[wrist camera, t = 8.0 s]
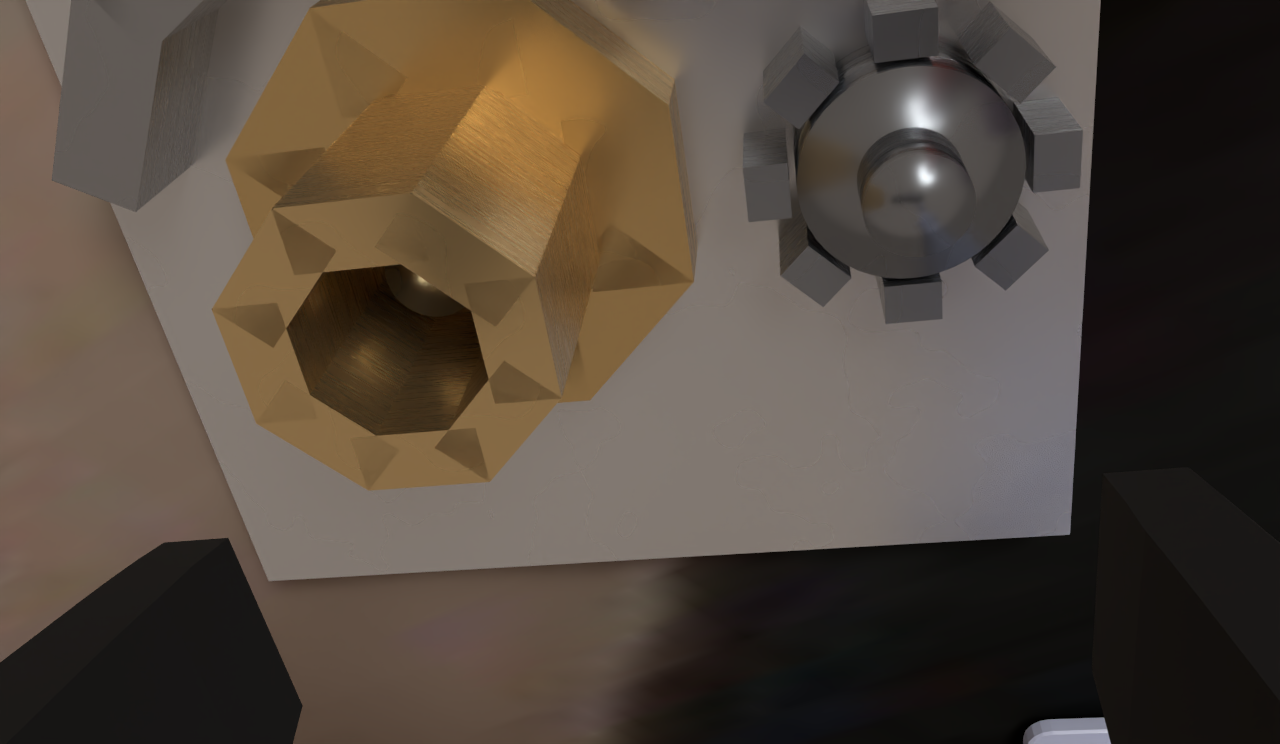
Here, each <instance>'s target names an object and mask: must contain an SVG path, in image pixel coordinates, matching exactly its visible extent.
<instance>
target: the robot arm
mask: <svg viewBox="0 0 1280 744" xmlns="http://www.w3.org/2000/svg"><path fill="white" fill-rule="evenodd" d="M1092 671H1093V675H1094V679H1095V683H1096V687H1097V691H1098V695H1099V699H1100V703H1101V707H1102V711H1103V715H1104V717H1101V718H1071V719H1047V720H1041V721H1038V722H1036V723H1034V724H1032V725H1031V726H1030V727H1029V728H1028V729H1027V730H1026V731H1025V733H1024V736H1023V744H1280V543H1279V542H1278V541H1277V540H1275V539H1274V538H1273V537H1272V536H1271V535H1269V534H1268V533H1267V532H1266V531H1265V530H1263V529H1262V528H1261V527H1260V526H1259V525H1257V524H1256V523H1255V522H1254V521H1253V520H1252V519H1250V518H1249V517H1248V516H1247V515H1246V514H1244V513H1243V512H1242V511H1241V510H1240V509H1238V508H1237V507H1236V506H1235V505H1234V504H1232V503H1231V502H1230V501H1229V500H1228V499H1226V498H1225V497H1224V496H1223V495H1222V494H1220V493H1219V492H1218V491H1217V490H1215V489H1214V488H1213V487H1212V486H1211V485H1209V484H1208V483H1207V482H1206V481H1205V480H1203V479H1202V478H1201V477H1200V476H1199V475H1197V474H1196V473H1195V472H1194V471H1192V470H1191V469H1190V468H1189V467H1183V468H1170V469H1156V470H1143V471H1129V472H1115V473H1103V479H1102V497H1101V515H1100V532H1099V550H1098V568H1097V586H1096V604H1095V621H1094V639H1093V657H1092ZM301 709H302V704H301V701H300V699H299V697H298V695H297V692H296V690H295V688H294V686H293V683H292V681H291V679H290V677H289V674H288V672H287V670H286V667H285V665H284V663H283V661H282V658H281V656H280V654H279V652H278V649H277V647H276V645H275V643H274V640H273V638H272V636H271V634H270V631H269V629H268V627H267V625H266V622H265V620H264V618H263V616H262V613H261V611H260V609H259V607H258V604H257V602H256V600H255V597H254V595H253V593H252V591H251V588H250V586H249V584H248V582H247V579H246V577H245V575H244V573H243V570H242V568H241V566H240V564H239V561H238V559H237V557H236V555H235V552H234V550H233V548H232V546H231V543H230V541H229V539H228V538H222V539H208V540H194V541H181V542H167V543H163V544H161V545H160V546H158V547H157V548H155V549H154V550H152V551H151V552H149V553H147V554H146V555H144V556H143V557H141V558H140V559H138V560H137V561H135V562H134V563H132V564H131V565H130V566H128V567H127V568H125V569H124V570H122V571H121V572H120V573H118V574H117V575H116V576H114V577H113V578H111V579H110V580H109V581H107V582H106V583H104V584H103V585H102V586H100V587H99V588H98V589H96V590H95V591H94V592H92V593H91V594H90V595H88V596H87V597H86V598H84V599H83V600H82V601H80V602H79V603H78V604H76V605H75V606H74V607H72V608H71V609H70V610H68V611H67V612H66V613H65V614H63V615H62V616H61V617H59V618H58V619H57V620H55V621H54V622H53V623H51V624H50V625H49V626H47V627H46V628H45V629H44V630H42V631H41V632H40V633H38V634H37V635H36V636H34V637H33V638H32V639H31V640H29V641H28V642H27V643H25V644H24V645H23V646H21V647H20V648H19V649H17V650H16V651H15V652H14V653H12V654H11V655H10V656H8V657H7V658H6V659H4V660H3V661H2V662H0V744H293V740H294V736H295V732H296V729H297V725H298V721H299V717H300V713H301Z"/></svg>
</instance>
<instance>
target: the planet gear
mask: <svg viewBox="0 0 1280 744" xmlns="http://www.w3.org/2000/svg"><path fill="white" fill-rule="evenodd" d="M225 161H226V163H227V166H228V169H229V172H230V175H231V177H232V180H233V183H234V186H235V189H236V191H237V194H238V197H239V200H240V203H241V205H242V208H243V211H244V214H245V217H246V219H247V222H248V225H249V228H250V231H251V233H252V236H253V241H252V243H251V244H250V246H249V248H248V249H247V251H246V253H245V254H244V256H243V258H242V259H241V261H240V263H239V264H238V266H237V268H236V269H235V271H234V273H233V274H232V276H231V278H230V279H229V281H228V283H227V284H226V286H225V288H224V289H223V291H222V293H221V294H220V296H219V298H218V300H217V301H216V303H215V305H214V306H213V308H212V312H213V314H214V317H215V320H216V322H217V325H218V327H219V330H220V332H221V335H222V337H223V340H224V343H225V345H226V348H227V350H228V353H229V355H230V358H231V360H232V363H233V366H234V368H235V371H236V373H237V376H238V378H239V381H240V383H241V386H242V388H243V391H244V394H245V396H246V399H247V401H248V404H249V406H250V409H251V411H252V414H253V417H254V419H255V422H256V424H258V425H259V426H261V427H263V428H265V429H266V430H268V431H270V432H271V433H273V434H275V435H276V436H278V437H280V438H281V439H283V440H285V441H286V442H288V443H290V444H291V445H293V446H295V447H296V448H298V449H300V450H301V451H303V452H305V453H306V454H308V455H310V456H311V457H313V458H315V459H316V460H318V461H320V462H321V463H323V464H325V465H326V466H328V467H330V468H331V469H333V470H335V471H336V472H338V473H340V474H341V475H343V476H345V477H346V478H348V479H350V480H351V481H353V482H355V483H356V484H358V485H360V486H361V487H363V488H365V489H366V490H368V491H371V490H385V489H399V488H413V487H427V486H441V485H455V484H468V483H482V482H490V481H491V480H492V479H493V478H494V477H495V475H496V474H497V473H498V472H499V471H500V470H501V468H502V467H503V466H504V465H505V464H506V463H507V461H508V460H509V459H510V458H511V457H512V456H513V454H514V453H515V452H516V451H517V450H518V449H519V447H520V446H521V445H522V444H523V443H524V442H525V440H526V439H527V438H528V437H529V436H530V435H531V433H532V432H533V431H534V430H535V429H536V427H537V426H538V425H539V424H540V423H541V422H542V420H543V419H544V418H545V417H546V416H547V415H548V413H549V412H550V411H551V410H552V409H553V408H554V406H555V405H556V404H557V403H564V402H576V401H588V400H591V399H592V398H593V397H594V395H595V394H596V393H597V392H598V391H599V390H600V389H601V387H602V386H603V385H604V384H605V383H606V382H607V381H608V379H609V378H610V377H611V376H612V375H613V374H614V373H615V371H616V370H617V369H618V368H619V367H620V366H621V365H622V363H623V362H624V361H625V360H626V359H627V358H628V357H629V355H630V354H631V353H632V352H633V351H634V350H635V349H636V347H637V346H638V345H639V344H640V343H641V342H642V341H643V339H644V338H645V337H646V336H647V335H648V334H649V333H650V331H651V330H652V329H653V328H654V327H655V326H656V325H657V323H658V322H659V321H660V320H661V319H662V318H663V317H664V315H665V314H666V313H667V312H668V311H669V310H670V309H671V307H672V306H673V305H674V304H675V303H676V302H677V301H678V299H679V298H680V297H681V296H682V295H683V294H684V293H685V291H686V290H687V289H688V288H689V287H690V286H691V285H692V283H693V282H694V277H695V268H696V258H697V249H698V247H697V240H696V232H695V225H694V218H693V211H692V203H691V196H690V189H689V181H688V174H687V167H686V160H685V152H684V145H683V138H682V131H681V123H680V116H679V109H678V102H677V94H676V87H675V80H674V79H673V78H672V77H671V76H669V75H668V74H667V73H666V72H664V71H663V70H662V69H660V68H659V67H658V66H656V65H655V64H654V63H652V62H651V61H650V60H649V59H647V58H646V57H645V56H643V55H642V54H641V53H639V52H638V51H637V50H635V49H634V48H633V47H631V46H630V45H629V44H628V43H626V42H625V41H624V40H622V39H621V38H620V37H618V36H617V35H616V34H614V33H613V32H612V31H611V30H609V29H608V28H607V27H605V26H604V25H603V24H601V23H600V22H599V21H597V20H596V19H595V18H594V17H592V16H591V15H590V14H588V13H587V12H586V11H584V10H583V9H582V8H580V7H579V6H578V5H577V4H575V3H574V2H573V1H571V0H320V1H319V2H317V3H316V4H314V5H313V6H311V7H310V8H309V10H308V12H307V14H306V15H305V17H304V19H303V21H302V23H301V24H300V26H299V28H298V30H297V32H296V33H295V35H294V37H293V39H292V41H291V42H290V44H289V46H288V48H287V50H286V51H285V53H284V55H283V57H282V59H281V60H280V62H279V64H278V66H277V68H276V69H275V71H274V73H273V75H272V77H271V78H270V80H269V82H268V84H267V86H266V87H265V89H264V91H263V93H262V95H261V96H260V98H259V100H258V102H257V104H256V105H255V107H254V109H253V111H252V113H251V114H250V116H249V118H248V120H247V122H246V123H245V125H244V127H243V129H242V131H241V132H240V134H239V136H238V138H237V140H236V141H235V143H234V145H233V147H232V149H231V150H230V152H229V154H228V156H227V158H226V159H225ZM398 264H401V265H403V266H404V267H406V268H407V269H409V270H410V271H412V272H413V273H415V274H416V275H418V276H419V277H421V278H422V279H424V280H425V281H427V282H428V283H430V284H431V285H433V286H434V287H436V288H438V289H439V290H441V291H442V292H444V293H445V294H447V295H448V296H450V297H451V298H453V299H454V300H456V301H457V302H459V303H460V304H462V305H463V306H465V307H464V308H462V309H461V310H459V311H458V312H456V313H454V314H451V315H448V316H442V317H433V316H426V315H422V314H419V313H417V312H414V311H412V310H411V309H409V308H407V307H406V306H404V305H403V304H402V303H401V302H400V301H399V300H398V299H397V298H396V297H395V296H394V294H393V293H392V291H391V290H390V288H389V286H388V283H387V280H386V276H385V266H388V265H398Z"/></svg>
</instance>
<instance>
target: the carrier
mask: <svg viewBox="0 0 1280 744" xmlns="http://www.w3.org/2000/svg"><path fill="white" fill-rule="evenodd" d="M319 1H320V0H26V3H27V5H28V8H29V10H30V12H31V15H32V17H33V20H34V22H35V24H36V27H37V29H38V31H39V34H40V36H41V39H42V41H43V43H44V46H45V48H46V51H47V53H48V55H49V58H50V60H51V63H52V65H53V67H54V70H55V72H56V74H57V77H58V79H59V82H60V84H61V86H62V90H61V99H60V109H59V118H58V127H57V137H56V146H55V156H54V165H53V174H52V181H55V182H57V183H60V184H63V185H65V186H68V187H70V188H73V189H76V190H78V191H81V192H84V193H86V194H89V195H92V196H94V197H97V198H100V199H102V200H105V201H107V202H110V203H111V206H112V208H113V211H114V213H115V215H116V218H117V220H118V222H119V225H120V227H121V230H122V232H123V234H124V237H125V239H126V242H127V244H128V246H129V249H130V251H131V254H132V256H133V258H134V261H135V263H136V265H137V268H138V270H139V273H140V275H141V277H142V280H143V282H144V285H145V287H146V289H147V292H148V294H149V296H150V299H151V301H152V304H153V306H154V308H155V311H156V313H157V316H158V318H159V320H160V323H161V325H162V328H163V330H164V332H165V335H166V337H167V339H168V342H169V344H170V347H171V349H172V351H173V354H174V356H175V359H176V361H177V363H178V366H179V368H180V370H181V373H182V375H183V378H184V380H185V382H186V385H187V387H188V390H189V392H190V394H191V397H192V399H193V402H194V404H195V406H196V409H197V411H198V413H199V416H200V418H201V421H202V423H203V425H204V428H205V430H206V433H207V435H208V437H209V440H210V442H211V445H212V447H213V449H214V452H215V454H216V456H217V459H218V461H219V464H220V466H221V468H222V471H223V473H224V476H225V478H226V480H227V483H228V485H229V487H230V490H231V492H232V495H233V497H234V499H235V502H236V504H237V507H238V509H239V511H240V514H241V516H242V519H243V521H244V523H245V526H246V528H247V530H248V533H249V535H250V538H251V540H252V542H253V545H254V547H255V550H256V552H257V554H258V557H259V559H260V561H261V564H262V566H263V569H264V571H265V573H266V576H267V578H268V581H280V580H297V579H314V578H331V577H349V576H366V575H383V574H400V573H417V572H434V571H452V570H469V569H486V568H503V567H520V566H538V565H555V564H572V563H589V562H606V561H623V560H641V559H658V558H675V557H692V556H709V555H726V554H744V553H761V552H778V551H795V550H812V549H830V548H847V547H864V546H881V545H898V544H915V543H933V542H950V541H967V540H984V539H1001V538H1019V537H1036V536H1053V535H1070V524H1071V507H1072V489H1073V472H1074V455H1075V437H1076V420H1077V403H1078V385H1079V368H1080V350H1081V333H1082V316H1083V298H1084V281H1085V263H1086V246H1087V229H1088V211H1089V194H1090V176H1091V159H1092V142H1093V124H1094V107H1095V89H1096V72H1097V55H1098V37H1099V20H1100V3H1101V0H571V1H573V2H574V3H575V4H577V5H578V6H579V7H580V8H582V9H583V10H584V11H586V12H587V13H588V14H590V15H591V16H592V17H594V18H595V19H596V20H597V21H599V22H600V23H601V24H603V25H604V26H605V27H607V28H608V29H609V30H611V31H612V32H613V33H614V34H616V35H617V36H618V37H620V38H621V39H622V40H624V41H625V42H626V43H628V44H629V45H630V46H631V47H633V48H634V49H635V50H637V51H638V52H639V53H641V54H642V55H643V56H645V57H646V58H647V59H649V60H650V61H651V62H652V63H654V64H655V65H656V66H658V67H659V68H660V69H662V70H663V71H664V72H666V73H667V74H668V75H669V76H671V77H672V78H673V79H674V80H675V87H676V94H677V102H678V109H679V116H680V123H681V131H682V138H683V145H684V152H685V160H686V167H687V174H688V181H689V189H690V196H691V203H692V211H693V218H694V225H695V232H696V240H697V247H698V249H697V258H696V268H695V277H694V282H693V283H692V285H691V286H690V287H689V288H688V289H687V290H686V291H685V293H684V294H683V295H682V296H681V297H680V298H679V299H678V301H677V302H676V303H675V304H674V305H673V306H672V307H671V309H670V310H669V311H668V312H667V313H666V314H665V315H664V317H663V318H662V319H661V320H660V321H659V322H658V323H657V325H656V326H655V327H654V328H653V329H652V330H651V331H650V333H649V334H648V335H647V336H646V337H645V338H644V339H643V341H642V342H641V343H640V344H639V345H638V346H637V347H636V349H635V350H634V351H633V352H632V353H631V354H630V355H629V357H628V358H627V359H626V360H625V361H624V362H623V363H622V365H621V366H620V367H619V368H618V369H617V370H616V371H615V373H614V374H613V375H612V376H611V377H610V378H609V379H608V381H607V382H606V383H605V384H604V385H603V386H602V387H601V389H600V390H599V391H598V392H597V393H596V394H595V395H594V397H593V398H592V399H591V400H588V401H576V402H564V403H557V404H556V405H555V406H554V408H553V409H552V410H551V411H550V412H549V413H548V415H547V416H546V417H545V418H544V419H543V420H542V422H541V423H540V424H539V425H538V426H537V427H536V429H535V430H534V431H533V432H532V433H531V435H530V436H529V437H528V438H527V439H526V440H525V442H524V443H523V444H522V445H521V446H520V447H519V449H518V450H517V451H516V452H515V453H514V454H513V456H512V457H511V458H510V459H509V460H508V461H507V463H506V464H505V465H504V466H503V467H502V468H501V470H500V471H499V472H498V473H497V474H496V475H495V477H494V478H493V479H492V480H491V481H490V482H482V483H468V484H455V485H441V486H427V487H413V488H399V489H385V490H371V491H368V490H366V489H365V488H363V487H361V486H360V485H358V484H356V483H355V482H353V481H351V480H350V479H348V478H346V477H345V476H343V475H341V474H340V473H338V472H336V471H335V470H333V469H331V468H330V467H328V466H326V465H325V464H323V463H321V462H320V461H318V460H316V459H315V458H313V457H311V456H310V455H308V454H306V453H305V452H303V451H301V450H300V449H298V448H296V447H295V446H293V445H291V444H290V443H288V442H286V441H285V440H283V439H281V438H280V437H278V436H276V435H275V434H273V433H271V432H270V431H268V430H266V429H265V428H263V427H261V426H259V425H258V424H256V422H255V419H254V417H253V414H252V411H251V409H250V406H249V404H248V401H247V399H246V396H245V394H244V391H243V388H242V386H241V383H240V381H239V378H238V376H237V373H236V371H235V368H234V366H233V363H232V360H231V358H230V355H229V353H228V350H227V348H226V345H225V343H224V340H223V337H222V335H221V332H220V330H219V327H218V325H217V322H216V320H215V317H214V314H213V312H212V308H213V306H214V305H215V303H216V301H217V300H218V298H219V296H220V294H221V293H222V291H223V289H224V288H225V286H226V284H227V283H228V281H229V279H230V278H231V276H232V274H233V273H234V271H235V269H236V268H237V266H238V264H239V263H240V261H241V259H242V258H243V256H244V254H245V253H246V251H247V249H248V248H249V246H250V244H251V243H252V241H253V236H252V233H251V231H250V228H249V225H248V222H247V219H246V217H245V214H244V211H243V208H242V205H241V203H240V200H239V197H238V194H237V191H236V189H235V186H234V183H233V180H232V177H231V175H230V172H229V169H228V166H227V163H226V161H225V159H226V158H227V156H228V154H229V152H230V150H231V149H232V147H233V145H234V143H235V141H236V140H237V138H238V136H239V134H240V132H241V131H242V129H243V127H244V125H245V123H246V122H247V120H248V118H249V116H250V114H251V113H252V111H253V109H254V107H255V105H256V104H257V102H258V100H259V98H260V96H261V95H262V93H263V91H264V89H265V87H266V86H267V84H268V82H269V80H270V78H271V77H272V75H273V73H274V71H275V69H276V68H277V66H278V64H279V62H280V60H281V59H282V57H283V55H284V53H285V51H286V50H287V48H288V46H289V44H290V42H291V41H292V39H293V37H294V35H295V33H296V32H297V30H298V28H299V26H300V24H301V23H302V21H303V19H304V17H305V15H306V14H307V12H308V10H309V8H310V7H311V6H313V5H314V4H316V3H317V2H319ZM385 276H386V280H387V283H388V286H389V288H390V290H391V291H392V293H393V294H394V296H395V297H396V298H397V299H398V300H399V301H400V302H401V303H402V304H403V305H404V306H406V307H407V308H409V309H411V310H412V311H414V312H417V313H419V314H422V315H426V316H433V317H442V316H448V315H451V314H454V313H456V312H458V311H459V310H461V309H462V308H464V307H465V306H463V305H462V304H460V303H459V302H457V301H456V300H454V299H453V298H451V297H450V296H448V295H447V294H445V293H444V292H442V291H441V290H439V289H438V288H436V287H434V286H433V285H431V284H430V283H428V282H427V281H425V280H424V279H422V278H421V277H419V276H418V275H416V274H415V273H413V272H412V271H410V270H409V269H407V268H406V267H404V266H403V265H401V264H398V265H388V266H385Z"/></svg>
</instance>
